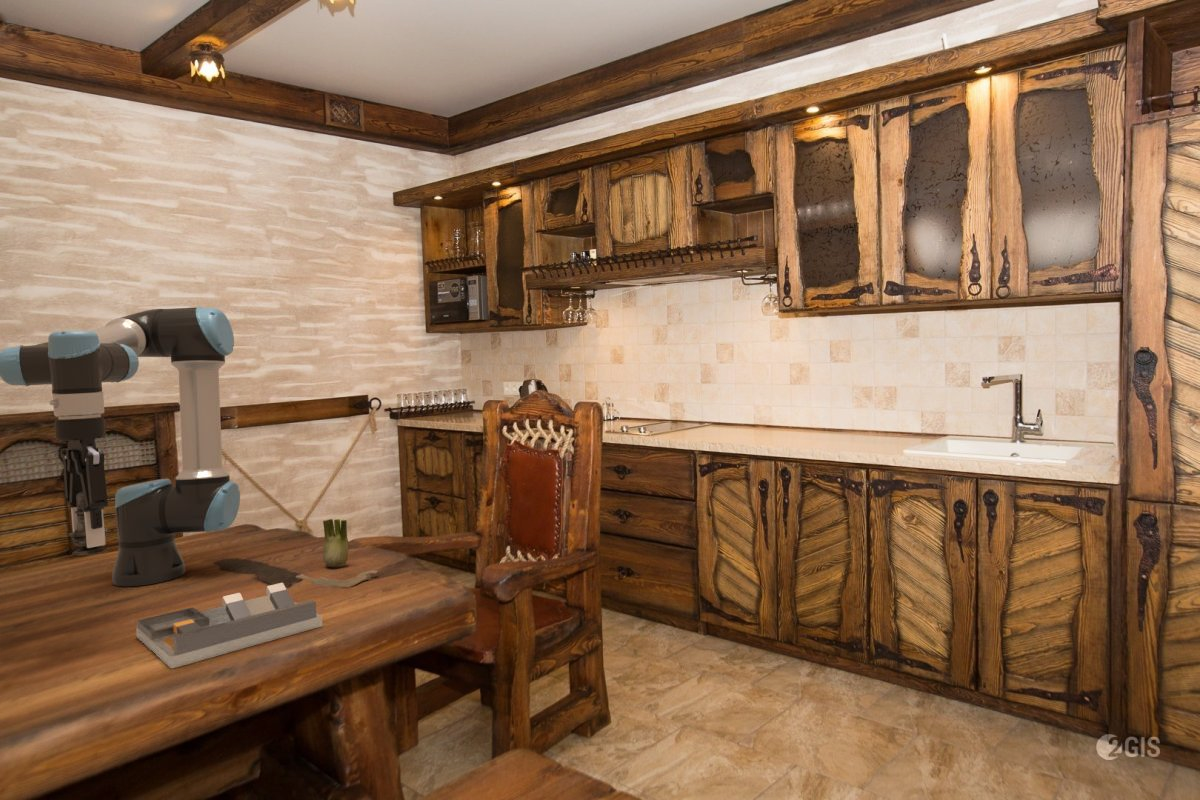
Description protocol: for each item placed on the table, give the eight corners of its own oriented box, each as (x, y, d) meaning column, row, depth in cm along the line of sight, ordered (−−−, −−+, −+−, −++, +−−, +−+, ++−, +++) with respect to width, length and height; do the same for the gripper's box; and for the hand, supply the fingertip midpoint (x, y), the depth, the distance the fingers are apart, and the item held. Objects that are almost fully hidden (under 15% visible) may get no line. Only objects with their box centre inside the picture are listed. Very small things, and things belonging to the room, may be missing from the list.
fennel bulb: (352, 565, 188) (349, 517, 187) (335, 570, 184) (332, 521, 183) (336, 563, 191) (333, 515, 190) (320, 568, 187) (317, 519, 186)
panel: (136, 637, 143) (134, 611, 142) (277, 602, 161) (275, 579, 160) (171, 668, 127) (169, 639, 126) (322, 626, 145) (320, 600, 145)
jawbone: (363, 592, 169) (362, 584, 168) (276, 594, 171) (275, 585, 171) (379, 577, 178) (378, 569, 177) (297, 579, 180) (296, 570, 180)
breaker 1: (221, 602, 141) (222, 596, 141) (238, 598, 144) (239, 592, 143) (236, 632, 137) (237, 626, 136) (253, 627, 139) (254, 621, 138)
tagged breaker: (173, 631, 137) (173, 623, 137) (191, 627, 139) (191, 619, 139) (187, 644, 131) (187, 636, 131) (206, 639, 133) (205, 631, 133)
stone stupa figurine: (93, 555, 135) (88, 488, 135) (62, 555, 136) (56, 489, 135) (116, 546, 141) (111, 482, 140) (86, 547, 142) (81, 483, 141)
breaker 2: (265, 592, 147) (266, 586, 146) (281, 588, 149) (282, 582, 148) (281, 620, 142) (282, 614, 142) (297, 616, 144) (298, 610, 144)
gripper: (37, 417, 140) (47, 541, 141) (74, 420, 128) (84, 555, 130) (84, 414, 146) (93, 533, 147) (123, 416, 134) (133, 545, 135)
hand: (89, 543), depth 138 cm, fingers closed on stone stupa figurine, 6 cm apart
